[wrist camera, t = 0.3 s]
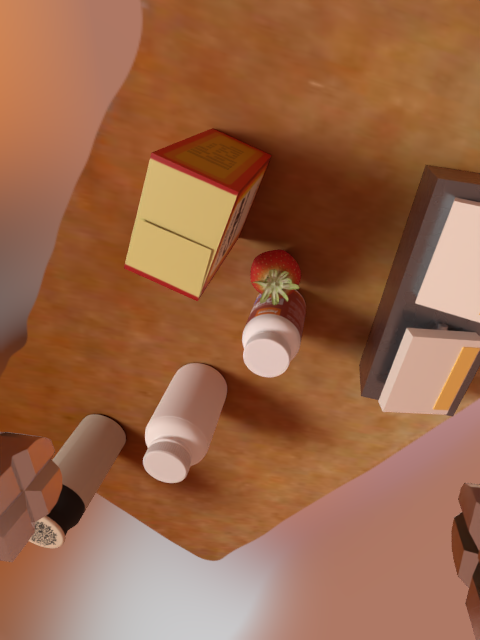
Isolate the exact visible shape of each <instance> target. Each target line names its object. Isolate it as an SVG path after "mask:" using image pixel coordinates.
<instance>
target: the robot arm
mask: <svg viewBox="0 0 480 640" xmlns="http://www.w3.org/2000/svg"><path fill="white" fill-rule="evenodd" d="M54 453H55V451H54V448H53V445H52V442H51V440H50V439H47V438H44V437H39V436H31V435H24V434H17V433H9V432H0V560H2V561H9V562H13V561H14V559H15V558H16V557H17V555H18V554H19V553H20V551H21V550H22V549H23V547H24V546H25V545H26V543H27V542H28V541H29V540H30V538H31V537H32V536H33V534H34V533H35V522H36V521H38V520H39V519H41V518H43V517H44V516H46V515H48V514H49V513H50V511H51V510H52V509H53V507H54V506H55V504H56V503H57V501H58V498H59V495H60V493H61V490H62V474H61V471H60V468H59V467H58V466H57V465H56V464H55V463H54V462H53V461H52V460H51V459H52V457H53V455H54ZM458 500H459V503H460V506H461V509H462V513H460V514H459V515H457V516H456V517H455V518H454V521H453V527H452V552H453V559H454V563H455V567H456V571H457V575H458V577H459V578H460V579H461V580H462V581H463V582H464V583H465V584H466V585H467V586H468V587H469V591H468V595H467V599H466V607H467V610H468V614H469V617H470V621H471V624H472V628H473V631H474V635H475V638H476V640H480V484H470V483H464V484H463V486H462V487H461V490H460V494H459V498H458Z"/></svg>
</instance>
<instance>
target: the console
mask: <svg viewBox="0 0 480 640" xmlns="http://www.w3.org/2000/svg"><path fill="white" fill-rule="evenodd" d="M455 197H456V198H461V199H465V200H470V201H475V202H480V173H475V172H468V171H461V170H455V169H448V168H442V167H435V166H428V165H426V166H425V169H424V172H423V175H422V178H421V181H420V184H419V187H418V190H417V193H416V196H415V199H414V202H413V205H412V208H411V211H410V214H409V217H408V220H407V223H406V226H405V229H404V232H403V235H402V238H401V241H400V244H399V247H398V250H397V253H396V256H395V259H394V262H393V265H392V268H391V271H390V274H389V277H388V280H387V283H386V286H385V289H384V292H383V295H382V298H381V301H380V304H379V307H378V310H377V313H376V316H375V319H374V322H373V325H372V328H371V331H370V334H369V337H368V340H367V343H366V346H365V349H364V352H363V355H362V358H361V361H360V364H359V366H360V384H361V396H363V397H368V398H372V399H377V400H379V398H380V396H381V393H382V390H383V388H384V385H385V383H386V380H387V378H388V375H389V372H390V370H391V367H392V365H393V362H394V359H395V357H396V354H397V352H398V349H399V346H400V344H401V341H402V339H403V336H404V334H405V331H406V328H418V329H433V330H448V331H463V332H476V333H477V334H478V335H479V336H480V323H479V322H475V321H472V320H469V319H466V318H462V317H459V316H456V315H452V314H449V313H446V312H442V311H439V310H436V309H432V308H429V307H426V306H423V305H419V304H416V303H415V301H416V298H417V295H418V293H419V290H420V288H421V285H422V282H423V280H424V277H425V275H426V272H427V269H428V267H429V264H430V262H431V259H432V256H433V254H434V251H435V249H436V246H437V243H438V241H439V238H440V235H441V233H442V230H443V228H444V225H445V222H446V220H447V217H448V215H449V212H450V209H451V207H452V204H453V202H454V199H455ZM479 366H480V351H479V353H478V355H477V356H476V358H475V360H474V362H473V364H472V366H471V368H470V370H469V372H468V374H467V376H466V378H465V380H464V382H463V384H462V385H461V387H460V389H459V391H458V393H457V395H456V397H455V399H454V401H453V403H452V405H451V407H450V409H449V411H448V413H447V414H446V415H448V416H453V415H454V413H455V411H456V410H457V408H458V406H459V404H460V402H461V400H462V398H463V396H464V394H465V393H466V391H467V389H468V387H469V385H470V383H471V381H472V379H473V377H474V376H475V374H476V372H477V370H478V368H479ZM444 415H445V414H444Z"/></svg>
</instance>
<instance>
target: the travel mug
mask: <svg viewBox="0 0 480 640" xmlns="http://www.w3.org/2000/svg"><path fill="white" fill-rule="evenodd" d="M125 442H126V435H125V433H124V431H123V429H122V428H121V427H120V425H119V424H117V423H116V422H115V421H113V420H112V419H110V418H108V417H106V416H102V415H97V414H94V415H89V416H86V417H85V418H84V419H83V420H82V422H81V423H80V424H79V426H78V427H77V428H76V430H75V431H74V432H73V433H72V435H71V436H70V437H69V439H68V440H67V441H66V443H65V444H64V445H63V447H62V448H61V449H60V451H59V452H58V453H57V455H56V456H55V457H54V459H53V460H52V461H53V462H54V463H55V464H56V465H57V466H58V467H59V468H60V471H61V474H62V490H61V493H60V495H59V498H58V501H57V503H56V504H55V506H54V507H53V509H52V510H51V511H50V513H49V514H48V515H46V516H44V517H43V518H41V519H39V520H38V521H36V522H35V533H34V534H33V536H32V537H31V538H30V540H29V541H30V542H32V543H34V544H36V545H39V546H42V547H46V548H57V547H60V546H61V545H62V544H63V543H64V542H65V535H66V533H67V531H68V530H69V529H70V528H72V527H73V526H75V525H76V524H77V523H78V522H79V520H80V518H81V517H82V515H83V513H84V512H85V510H86V508H87V507H88V505H89V503H90V502H91V500H92V498H93V497H94V495H95V493H96V492H97V490H98V488H99V486H100V485H101V483H102V481H103V480H104V478H105V476H106V475H107V473H108V471H109V470H110V468H111V466H112V465H113V463H114V461H115V460H116V458H117V456H118V454H119V453H120V451H121V449H122V448H123V446H124V444H125Z"/></svg>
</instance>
